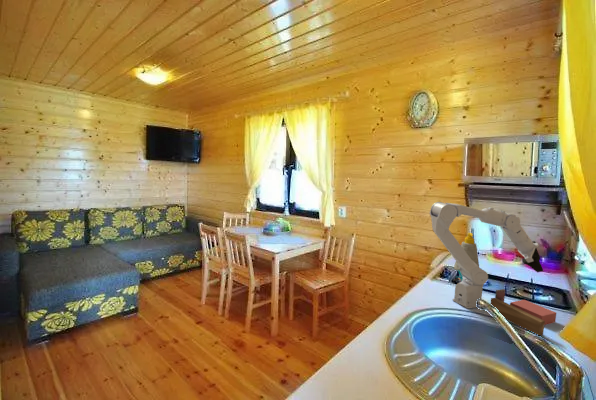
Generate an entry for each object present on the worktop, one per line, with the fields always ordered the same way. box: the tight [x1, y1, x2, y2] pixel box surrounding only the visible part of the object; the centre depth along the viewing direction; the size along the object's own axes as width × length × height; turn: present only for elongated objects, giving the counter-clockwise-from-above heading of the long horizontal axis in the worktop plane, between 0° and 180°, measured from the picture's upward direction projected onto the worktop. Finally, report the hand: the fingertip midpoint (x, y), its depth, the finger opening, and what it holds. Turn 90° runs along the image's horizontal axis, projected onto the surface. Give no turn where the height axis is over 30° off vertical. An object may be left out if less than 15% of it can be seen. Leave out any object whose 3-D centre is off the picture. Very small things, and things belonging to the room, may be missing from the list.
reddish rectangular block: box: [509, 299, 557, 326], centre depth 112 cm, size 8×11×4 cm
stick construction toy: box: [452, 269, 463, 283], centre depth 144 cm, size 12×7×8 cm
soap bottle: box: [453, 232, 480, 272], centre depth 161 cm, size 12×12×20 cm
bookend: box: [494, 288, 506, 302], centre depth 116 cm, size 4×1×8 cm, turn 107°
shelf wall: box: [489, 297, 545, 337], centre depth 107 cm, size 2×18×5 cm, turn 17°
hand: (538, 265), depth 120 cm, fingers open, 7 cm apart
